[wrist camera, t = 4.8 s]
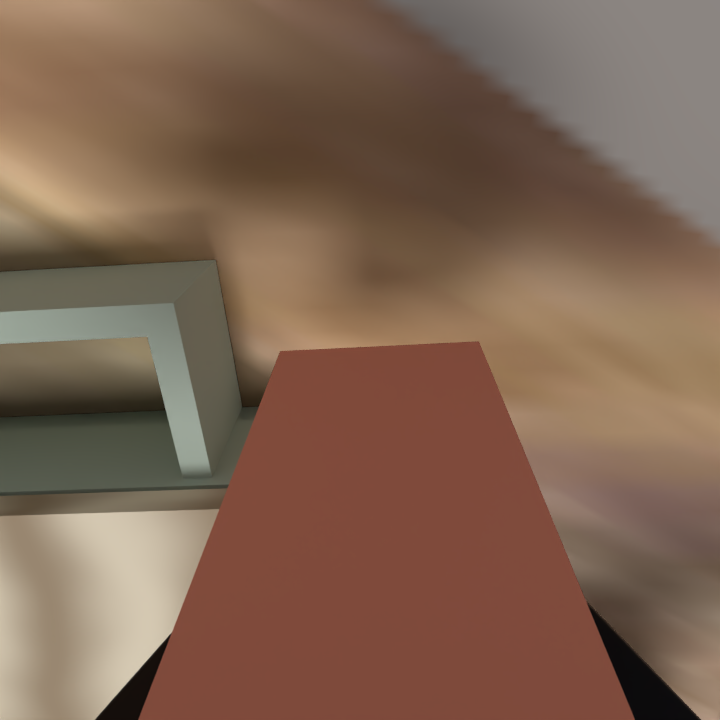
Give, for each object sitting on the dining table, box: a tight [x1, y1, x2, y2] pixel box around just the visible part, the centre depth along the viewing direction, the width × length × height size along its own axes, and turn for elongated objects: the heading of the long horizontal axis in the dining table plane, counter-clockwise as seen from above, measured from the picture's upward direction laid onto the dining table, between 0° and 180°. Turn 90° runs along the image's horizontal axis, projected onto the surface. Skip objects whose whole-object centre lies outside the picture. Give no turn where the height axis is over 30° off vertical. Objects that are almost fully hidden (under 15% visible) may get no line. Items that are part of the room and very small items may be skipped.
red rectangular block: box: [138, 342, 635, 720], centre depth 9 cm, size 4×4×9 cm
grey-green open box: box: [0, 260, 259, 496], centre depth 24 cm, size 18×26×5 cm
